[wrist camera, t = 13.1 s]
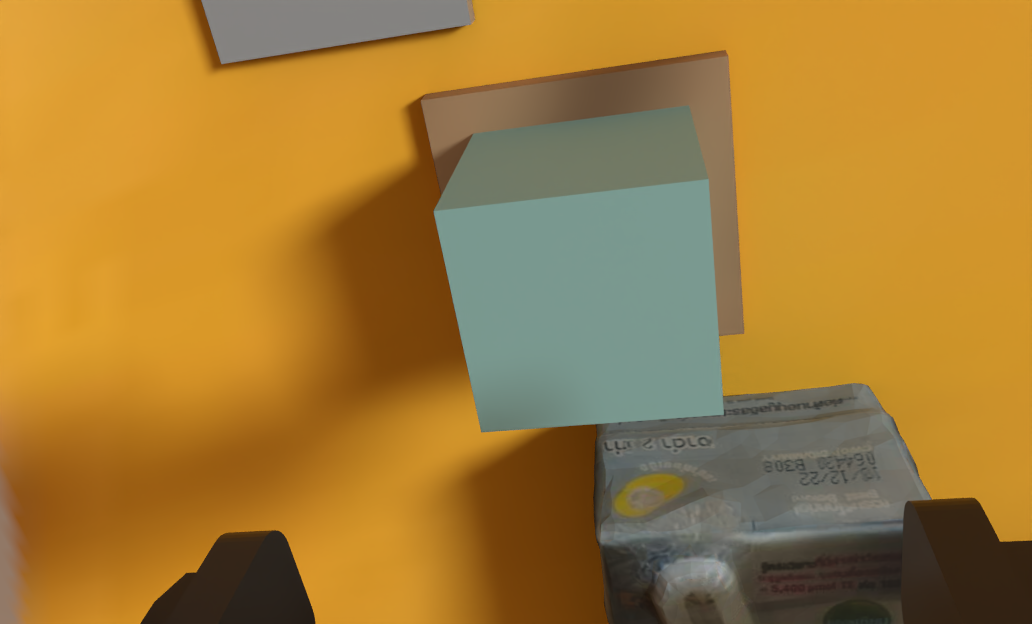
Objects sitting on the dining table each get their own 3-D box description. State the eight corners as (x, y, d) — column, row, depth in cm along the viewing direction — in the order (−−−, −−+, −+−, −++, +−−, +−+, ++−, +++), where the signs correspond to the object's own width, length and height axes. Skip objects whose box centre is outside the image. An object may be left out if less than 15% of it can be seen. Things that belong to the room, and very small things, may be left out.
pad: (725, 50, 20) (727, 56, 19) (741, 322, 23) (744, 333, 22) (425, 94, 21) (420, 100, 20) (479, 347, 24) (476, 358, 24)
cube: (688, 105, 20) (709, 179, 15) (703, 301, 22) (723, 414, 18) (473, 133, 21) (433, 211, 16) (508, 319, 23) (481, 432, 18)
